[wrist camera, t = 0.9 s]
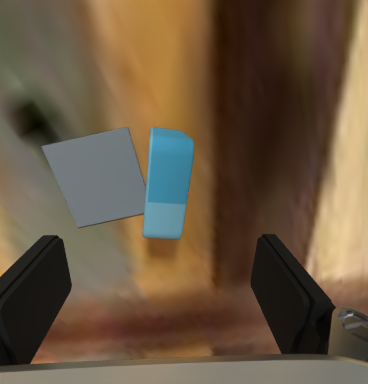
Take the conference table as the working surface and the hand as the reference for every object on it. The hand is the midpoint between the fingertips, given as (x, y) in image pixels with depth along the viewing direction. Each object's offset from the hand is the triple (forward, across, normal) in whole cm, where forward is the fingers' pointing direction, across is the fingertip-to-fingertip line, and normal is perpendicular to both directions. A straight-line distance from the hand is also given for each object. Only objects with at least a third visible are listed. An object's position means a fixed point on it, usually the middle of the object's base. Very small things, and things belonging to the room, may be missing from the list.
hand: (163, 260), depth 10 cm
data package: (+25, +1, +2) cm, 25 cm away
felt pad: (+25, +11, +4) cm, 27 cm away
